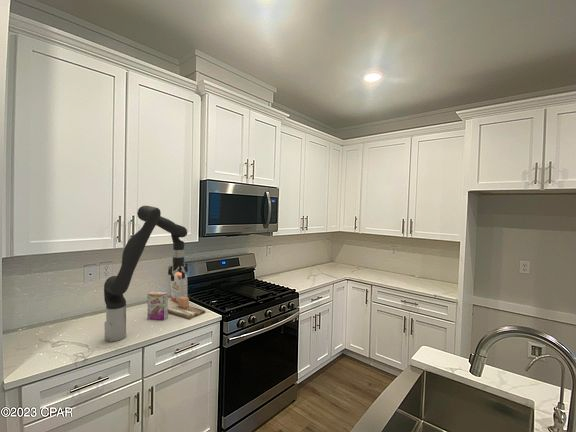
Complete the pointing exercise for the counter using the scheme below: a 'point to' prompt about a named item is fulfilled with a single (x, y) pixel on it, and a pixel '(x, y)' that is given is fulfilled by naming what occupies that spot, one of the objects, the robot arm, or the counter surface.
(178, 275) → the cracker box
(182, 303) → the tan block
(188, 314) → the board
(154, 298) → the candy bar box
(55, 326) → the counter surface
